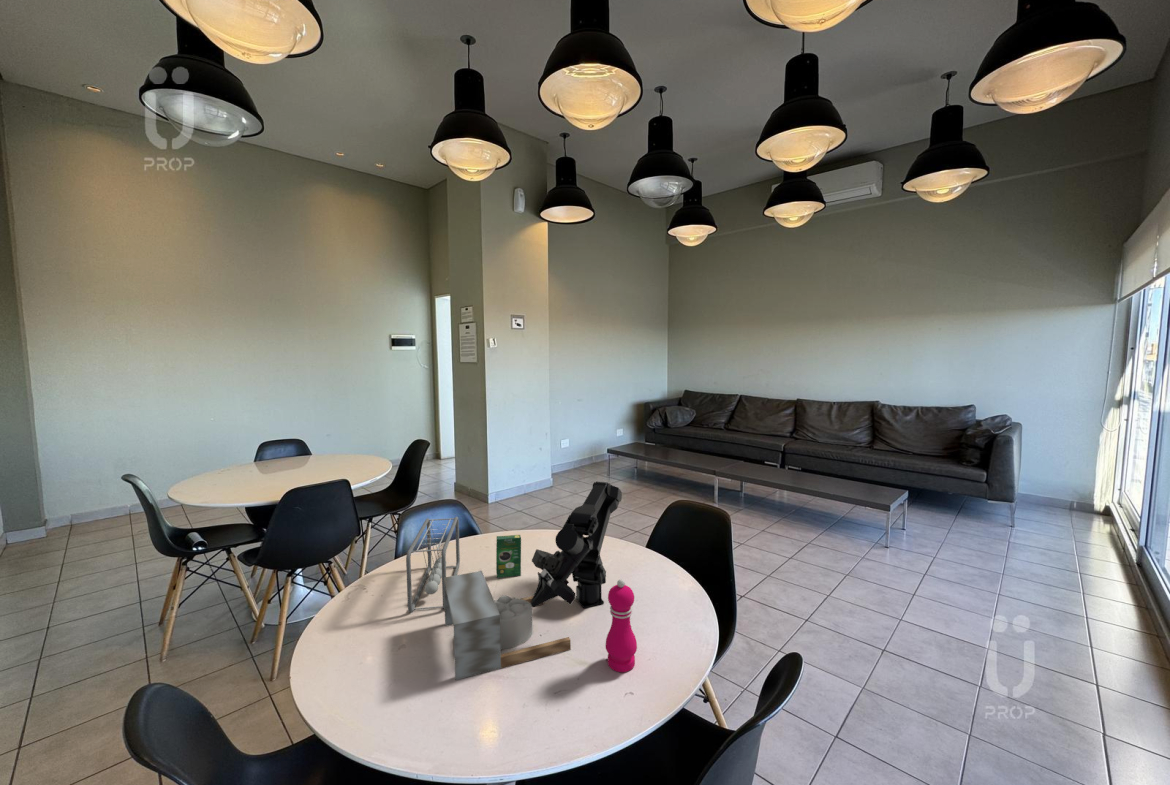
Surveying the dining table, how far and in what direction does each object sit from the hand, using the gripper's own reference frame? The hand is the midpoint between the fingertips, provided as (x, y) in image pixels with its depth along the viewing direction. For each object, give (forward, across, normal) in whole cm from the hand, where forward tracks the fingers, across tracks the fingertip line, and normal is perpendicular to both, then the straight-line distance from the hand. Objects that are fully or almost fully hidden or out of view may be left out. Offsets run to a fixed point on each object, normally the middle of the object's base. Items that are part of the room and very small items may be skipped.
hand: (531, 605), depth 118 cm
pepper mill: (-6, +21, +15) cm, 27 cm away
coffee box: (+4, -32, +6) cm, 33 cm away
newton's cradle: (+19, -34, -10) cm, 40 cm away
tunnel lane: (+10, 0, 0) cm, 10 cm away
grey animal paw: (+10, 0, 0) cm, 10 cm away
